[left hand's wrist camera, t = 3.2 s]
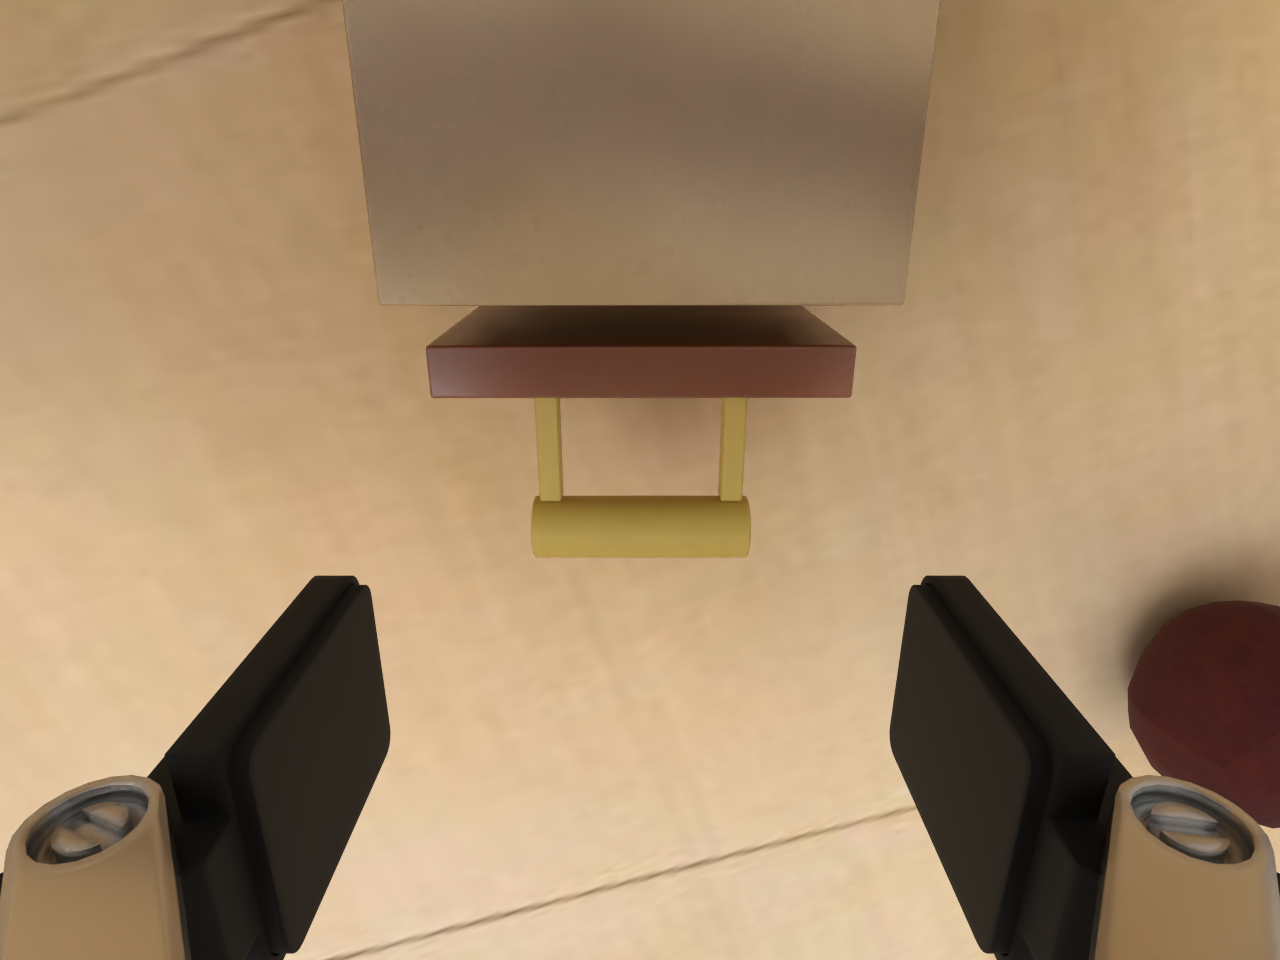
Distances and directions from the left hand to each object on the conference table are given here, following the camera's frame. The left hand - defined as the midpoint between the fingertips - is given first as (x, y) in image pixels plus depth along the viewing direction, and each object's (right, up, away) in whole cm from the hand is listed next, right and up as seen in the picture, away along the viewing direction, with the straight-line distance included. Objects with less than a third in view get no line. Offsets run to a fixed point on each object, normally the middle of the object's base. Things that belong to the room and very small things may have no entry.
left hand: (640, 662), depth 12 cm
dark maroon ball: (+22, -4, +19) cm, 29 cm away
